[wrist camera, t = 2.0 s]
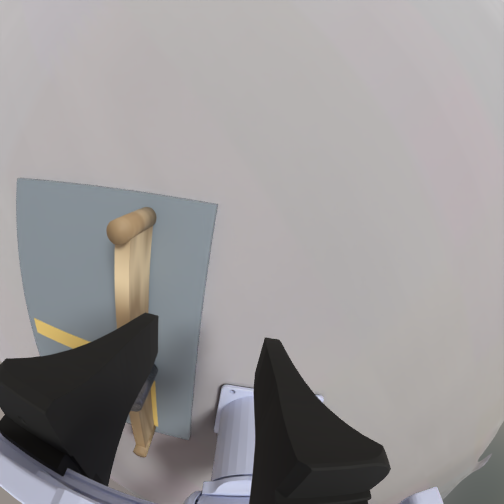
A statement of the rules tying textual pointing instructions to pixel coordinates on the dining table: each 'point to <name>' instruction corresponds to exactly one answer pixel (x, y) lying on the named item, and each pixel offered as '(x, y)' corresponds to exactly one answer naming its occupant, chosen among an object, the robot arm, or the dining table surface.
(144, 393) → the hinge post
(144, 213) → the tan piece
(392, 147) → the dining table surface
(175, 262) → the board
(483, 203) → the dining table surface
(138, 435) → the fixed fence section
